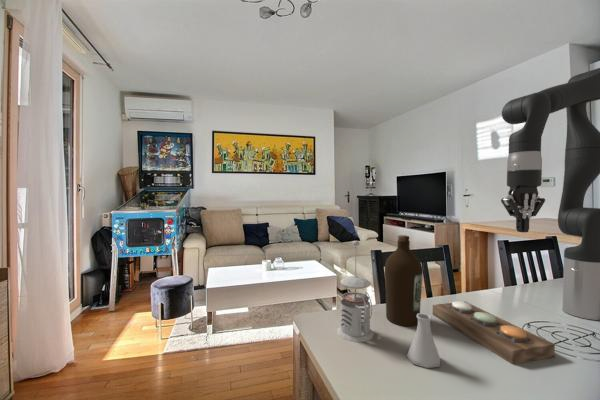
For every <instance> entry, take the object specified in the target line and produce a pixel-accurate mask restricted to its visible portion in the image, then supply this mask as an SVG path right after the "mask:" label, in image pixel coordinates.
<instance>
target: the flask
mask: <svg viewBox="0 0 600 400" xmlns="http://www.w3.org/2000/svg"><path fill="white" fill-rule="evenodd" d="M417 318H418V324H417V325H416V326H417V327H416V331H415V333H414V337H413V339H412V341H411V343H410V346H409V349H408V352H407V355H406V358H407V359H408V360H409V361H410V362H411V363H412V365H416V366H420V367H422V368H426V369H431V368H440V367H441V357H440V354H439V352H438V351H439V350H438V348H437V347H436V344H435V339H434V337H433V334H432V327H431V322H432V319H433V318H432V316H431V315H429V314H428V313H424V312H422V313H421V312H420V313H419V314H417Z"/></svg>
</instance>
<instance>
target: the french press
mask: <svg viewBox="0 0 600 400" xmlns="http://www.w3.org/2000/svg"><path fill="white" fill-rule="evenodd" d="M352 246H354V247H355V249H354V250H355V251H354V254H355V255H354V259H355V260H354V267H355V268H354V275H349V276H346V277H343V279H341V280H340V284H341V286H343V287H345V288H348V289H354V291H353V292H345V293H343V294H342V296H341V298H342V299H341V301H340V310H341V311H340V326H339V327H338V328H337V330H336V332H337V334H338V336H339V337H340V338H342V339H343V340H346V341H349V342H355V343H360V342H361V343H364V342H368V341H370V340H373V338H374V332H373V330H372V329H371V318H372V315H373V304H372V300H371V297H370V295H369V293H368V292H367V291H365V294H364V293H362V292H357V290H359V289H361V290H362V289H367V288H369V287H370V286H371V285H372V282H370V281H371V280H370V281H369V280H368V279H367V278H366V277H363V276H359V275H357V246H360V241H359V240H353V241H352ZM357 306H358V307H357Z"/></svg>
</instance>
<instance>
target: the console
mask: <svg viewBox="0 0 600 400" xmlns="http://www.w3.org/2000/svg"><path fill="white" fill-rule="evenodd" d="M464 302H465V303H468V304H470V305H471V306H472V309H473V313H465V314H460V313H458V312H457V311H455V310H453V309H451V305H452V302H446V303H438V304H432V315H433V316H434V317H436V318H437V319H438V320H439V319H440V320H441V321H443V322H444V323H445V324H448V325H449V326H450V327H452V328H453V329H455V330H456V331H458V332H460V333H462V334H464V335H465V336H467V337H468V338H469V339H471V340H473V341H475V342H476V343H478V344H480V345H481V346H482V347H484V348H486V349H487V350H488V351H490V352H492V353H494V354H496V355H497V356H498V357H501V358H502V359H503V360H505V361H506V362H508V363H510V364H512V365H517V364H522V363H528V362H533V361H539V360H545V359H552V358H555V352H556V351H555V350H556V349H555V343H553V342H550V341H549V340H546V339H544V338H542V337H540V336H538V335H536V334H534V333H532V332H530V331H527V330H526V329H524V328H523V327H520V326H517V325H515V324H513V323H511V322H510V321H509V322H508V321H507V320H506V319H503V318H500V317H498V316H497V315H495V314H492V313H490V312H488V311H486V310H484V309H482V308H480V307H477V306H476V305H473V304H472V303H470V302H467V301H464ZM476 312H483V313H488V314H491V315H493V316H495V317H496V321H497V322H498V323H497V326H489V327H484V326H482V325H480V324H479V323H477V322H475V321H473V320H472V319H473V316H474V313H476ZM504 325H508V326H514V327H517V328H520V329H522V330H524V331H525V332H526V336H528V341H525V342H518V343H514V342H512V341H510V340H508V339H506V338H504V337H503V336H501V335H499V330H501V326H504Z"/></svg>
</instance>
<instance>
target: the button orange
mask: <svg viewBox="0 0 600 400" xmlns="http://www.w3.org/2000/svg"><path fill="white" fill-rule="evenodd" d="M520 328H521V327H520ZM520 328H517V327H514V326H508V325H504V326H501V330H499V335H501V336H503V337H504V338H506V339H508V340H510V341H512V342H514V343H518V342H525V341H528V336H526V332H525V331H524V330H525V329H524V330H522V329H523V328H522V329H520Z"/></svg>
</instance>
